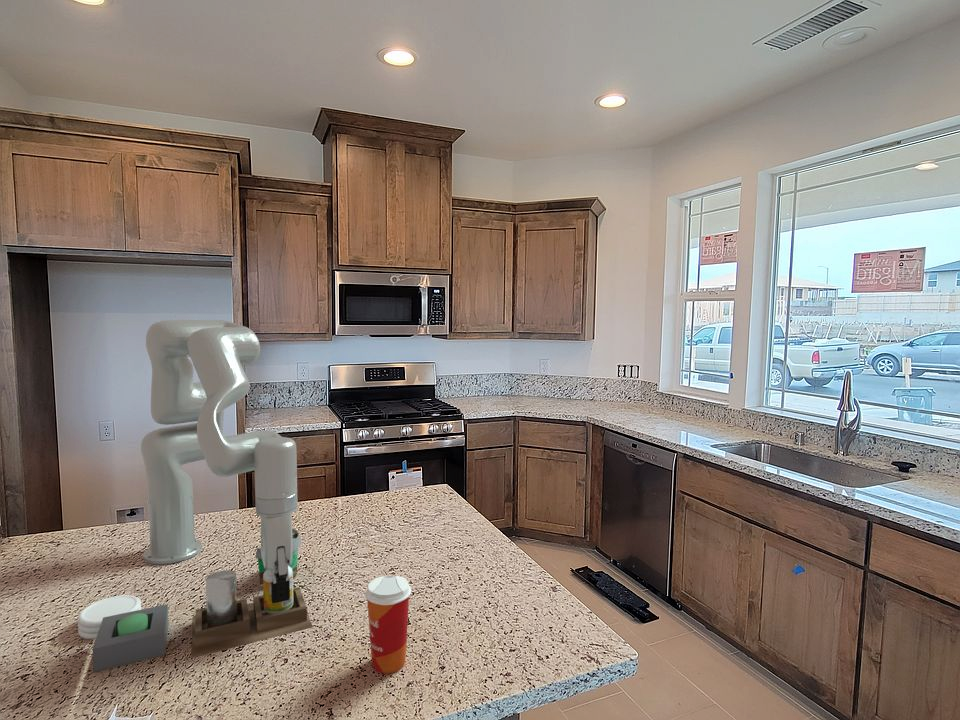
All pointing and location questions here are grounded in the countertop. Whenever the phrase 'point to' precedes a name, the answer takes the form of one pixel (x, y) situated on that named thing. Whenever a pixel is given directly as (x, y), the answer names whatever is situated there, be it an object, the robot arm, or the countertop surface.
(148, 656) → the gray square holder
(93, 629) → the round white lidded container
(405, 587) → the paper cup
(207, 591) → the billet
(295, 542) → the food container
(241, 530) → the countertop surface
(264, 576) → the supplement bottle
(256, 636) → the double slot desk organizer
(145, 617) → the button
